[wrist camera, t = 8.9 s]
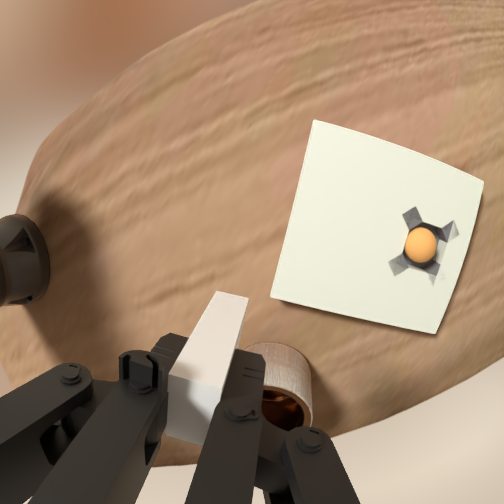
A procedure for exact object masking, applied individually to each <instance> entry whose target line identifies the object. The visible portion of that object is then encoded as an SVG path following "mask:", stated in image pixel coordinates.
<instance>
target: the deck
mask: <svg viewBox="0 0 504 504" xmlns="http://www.w3.org/2000/svg"><path fill="white" fill-rule="evenodd" d="M483 184H484V181H482V180H480V179H478V178H476V177H474V176H472V175H469V174H467V173H465V172H463V171H461V170H458V169H456V168H454V167H452V166H449V165H447V164H445V163H442V162H440V161H438V160H435V159H433V158H430V157H428V156H425V155H423V154H420V153H418V152H415V151H413V150H410V149H407V148H405V147H402V146H399V145H396V144H393V143H391V142H388V141H385V140H382V139H379V138H376V137H373V136H370V135H367V134H364V133H360V132H357V131H354V130H350V129H347V128H344V127H340V126H337V125H333V124H330V123H326V122H322V121H318V120H314V121H313V123H312V128H311V132H310V136H309V141H308V145H307V149H306V154H305V158H304V162H303V166H302V170H301V175H300V179H299V183H298V187H297V191H296V195H295V199H294V203H293V207H292V211H291V215H290V219H289V223H288V227H287V231H286V235H285V239H284V243H283V247H282V251H281V255H280V259H279V262H278V266H277V270H276V274H275V278H274V281H273V285H272V289H271V294H270V297H272V298H276V299H280V300H284V301H288V302H292V303H296V304H300V305H304V306H309V307H313V308H317V309H321V310H325V311H330V312H334V313H338V314H343V315H347V316H352V317H356V318H360V319H365V320H370V321H374V322H379V323H383V324H388V325H393V326H398V327H402V328H407V329H412V330H417V331H422V332H427V333H432V334H436V331H437V329H438V327H439V325H440V322H441V320H442V318H443V315H444V313H445V310H446V308H447V306H448V303H449V300H450V298H451V295H452V293H453V290H454V287H455V285H456V282H457V279H458V276H459V273H460V270H461V267H462V264H463V261H464V258H465V255H466V252H467V249H468V245H469V242H470V238H471V235H472V231H473V228H474V224H475V220H476V216H477V212H478V208H479V203H480V199H481V194H482V189H483ZM418 227H422V228H426V229H428V230H430V231H431V232H432V233H433V235H434V236H435V239H436V243H437V248H436V252H435V254H434V256H433V257H432V258H431V259H430V260H428V261H426V262H422V263H419V262H415V261H413V260H411V259H410V258H409V257H408V256H407V254H406V252H405V249H404V246H405V243H406V239H407V236H408V233H409V232H410V231H411V230H412V229H414V228H418Z"/></svg>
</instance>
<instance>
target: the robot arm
mask: <svg viewBox="0 0 504 504" xmlns="http://www.w3.org/2000/svg"><path fill="white" fill-rule="evenodd" d="M49 276H50V265H49V257H48V253H47V249H46V245H45V243H44V240H43V238H42V236H41V234H40V232H39V230H38V228H37V227H36V226H35V224H34V223H33V222H32V221H31V220H30V219H29V218H27V217H26V216H24V215H21V214H13V215H9V216H5V217H3V218H1V219H0V307H2V306H11V305H26V304H30V303H32V302H34V301H36V300H38V299H39V298H41V297H42V296H43V295H44V293H45V291H46V289H47V287H48V283H49ZM248 300H249V298H246V297H241V296H237V295H232V294H228V293H224V292H219V291H216V293H215V294H214V296H213V298H212V300H211V301H210V303H209V305H208V306H207V308H206V310H205V312H204V313H203V315H202V317H201V318H200V320H199V322H198V324H197V325H196V327H195V329H194V330H193V332H192V334H191V336H190V337H189V338H187V337H183V336H180V335H176V334H173V333H169V334H167V335H165V336H163V337H161V338H160V339H159V341H158V342H157V343H156V345H155V346H154V347H153V349H152V350H151V352H147V351H142V350H131V351H128V352H124V353H123V354H121V355H120V356H119V378H120V379H119V380H118V381H117V382H106V381H100V380H93V379H92V376H91V373H90V371H89V370H88V369H87V368H86V367H84V366H82V365H80V364H75V363H63V364H61V365H58V366H56V367H54V368H52V369H50V370H49V371H47V372H45V373H43V374H42V375H40V376H38V377H36V378H34V379H33V380H31V381H29V382H27V383H26V384H24V385H22V386H20V387H18V388H17V389H15V390H13V391H11V392H9V393H8V394H6V395H4V396H2V397H1V398H0V504H23V503H24V502H25V501H27V500H28V499H29V498H30V497H32V496H33V497H32V498H31V499H30V501H29V502H28V504H135V502H136V500H137V498H138V495H139V493H140V491H141V489H142V486H143V484H144V482H145V480H146V477H147V475H148V473H149V470H150V469H151V466H152V464H153V462H154V460H155V457H156V455H157V453H158V451H159V448H160V444H161V435H162V433H163V431H164V429H165V435H166V436H169V437H172V438H175V439H179V440H182V441H186V442H189V443H193V444H197V445H200V446H203V448H202V451H201V454H200V457H199V460H198V463H197V467H196V470H195V473H194V476H193V480H192V482H191V485H190V489H189V492H188V495H187V498H186V501H185V504H252V497H253V489H254V486H255V487H258V488H260V489H262V490H263V494H264V498H265V503H266V504H360V502H359V500H358V497H357V495H356V493H355V491H354V488H353V486H352V484H351V482H350V480H349V477H348V475H347V473H346V471H345V469H344V466H343V464H342V462H341V460H340V457H339V455H338V453H337V451H336V449H335V447H334V444H333V442H332V441H331V439H330V438H329V436H328V435H327V434H326V433H324V432H323V431H321V430H319V429H316V428H314V427H308V426H301V427H296V428H294V429H292V430H290V431H289V432H288V431H285V430H283V429H280V428H278V427H276V426H274V425H272V424H271V423H270V422H269V421H267V420H266V418H265V417H264V416H263V413H262V411H261V404H262V396H263V387H264V378H265V369H266V362H265V360H264V358H263V356H262V354H258V353H253V352H248V351H244V350H239V349H238V346H239V341H240V337H241V332H242V328H243V323H244V318H245V314H246V309H247V304H248Z"/></svg>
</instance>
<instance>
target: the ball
mask: <svg viewBox="0 0 504 504" xmlns="http://www.w3.org/2000/svg"><path fill="white" fill-rule="evenodd" d="M436 248H437V243H436V239H435V236H434V235H433V233H432V232H431V231H430V230H428V229H426V228H422V227H418V228H414V229H412V230H411V231H410V232H409V233H408V236H407V239H406V243H405V246H404V249H405V252H406V254H407V256H408V257H409V258H410V259H411V260H413V261H415V262H419V263H422V262H426V261H428V260H430V259H431V258H432V257H433V256H434V254H435V252H436Z"/></svg>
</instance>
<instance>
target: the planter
mask: <svg viewBox="0 0 504 504" xmlns="http://www.w3.org/2000/svg"><path fill="white" fill-rule="evenodd" d="M244 351H248V352H253V353H258V354H262V356H263V358H264V360H265V362H266V369H265V378H264V387H263V396H262V404H261V411H262V413H263V416H264V417H265V418H266V420H267V421H269V422H270V423H271V424H272V425H274V426H276V427H278V428H280V429H283V430H285V431H288V432H289V431H290V430H292V429H294V428H296V427H301V426H308V427H311V425H312V419H313V413H312V386H311V371H310V368H309V365H308V363H307V361H306V359H305V358H304V357H303V355H302V354H300V353H299V352H298V351H297V350H295V349H294V348H292V347H290V346H287V345H285V344H281V343H275V342H264V343H258V344H255V345H252V346H249V347H247V348H246V349H244Z"/></svg>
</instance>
